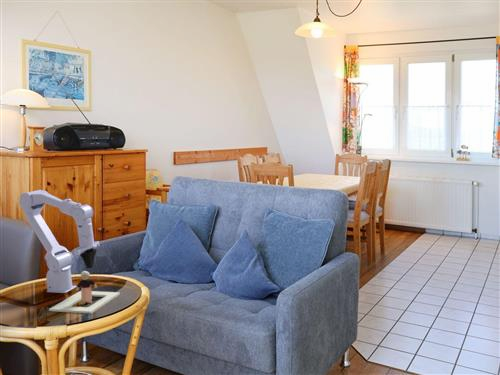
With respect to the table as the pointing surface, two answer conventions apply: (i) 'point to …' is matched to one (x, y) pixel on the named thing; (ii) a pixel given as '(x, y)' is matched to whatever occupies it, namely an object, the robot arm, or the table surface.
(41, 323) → the table surface
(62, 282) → the robot arm
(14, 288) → the table surface
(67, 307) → the pale rectangular frame
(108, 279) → the table surface
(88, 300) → the grandmother figurine
